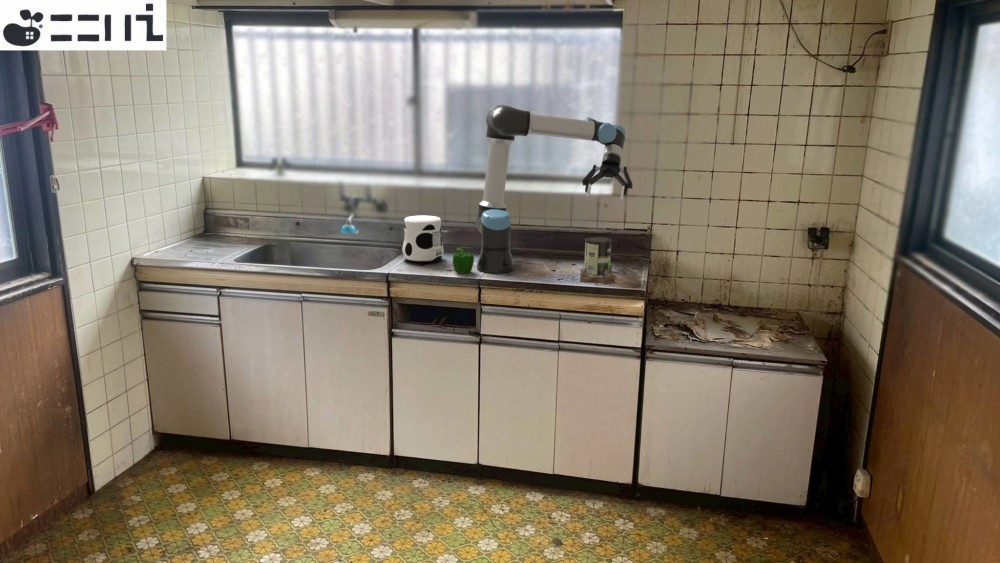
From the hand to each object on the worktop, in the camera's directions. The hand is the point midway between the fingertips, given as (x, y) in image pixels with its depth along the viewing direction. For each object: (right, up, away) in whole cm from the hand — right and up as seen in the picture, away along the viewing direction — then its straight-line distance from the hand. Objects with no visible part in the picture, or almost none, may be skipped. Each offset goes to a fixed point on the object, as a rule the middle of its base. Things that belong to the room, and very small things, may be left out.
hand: (604, 199), depth 283 cm
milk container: (-74, -24, +19) cm, 80 cm away
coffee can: (-4, -30, -5) cm, 31 cm away
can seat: (-4, -31, -4) cm, 32 cm away
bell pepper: (-56, -29, 0) cm, 63 cm away
